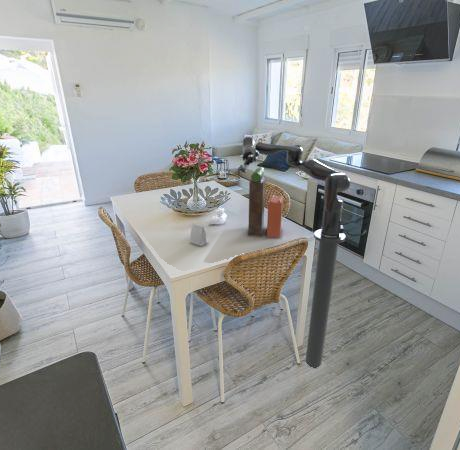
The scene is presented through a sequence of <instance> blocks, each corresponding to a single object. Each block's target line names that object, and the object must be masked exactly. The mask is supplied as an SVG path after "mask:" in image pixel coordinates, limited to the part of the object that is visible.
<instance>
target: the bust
mask: <svg viewBox="0 0 460 450" xmlns="http://www.w3.org/2000/svg"><path fill="white" fill-rule="evenodd" d="M215 213H216V214H215V215H213V216H211V218H210V219H209V224H210V225H215V226H221V225H223V224H225V222H226V219H227V217H228V216H227V213H225V208H224V207H219V208H218V209H215Z"/></svg>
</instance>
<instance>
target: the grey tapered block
mask: <svg viewBox="0 0 460 450" xmlns="http://www.w3.org/2000/svg"><path fill="white" fill-rule="evenodd" d="M190 241H191V244H193V245H196V246H199V247H203V246H205V245H206V244H207V232H206V230H205V227H204V226H202V225H200V224H199V225H198V224H196V223H192V226H191V230H190Z"/></svg>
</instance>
